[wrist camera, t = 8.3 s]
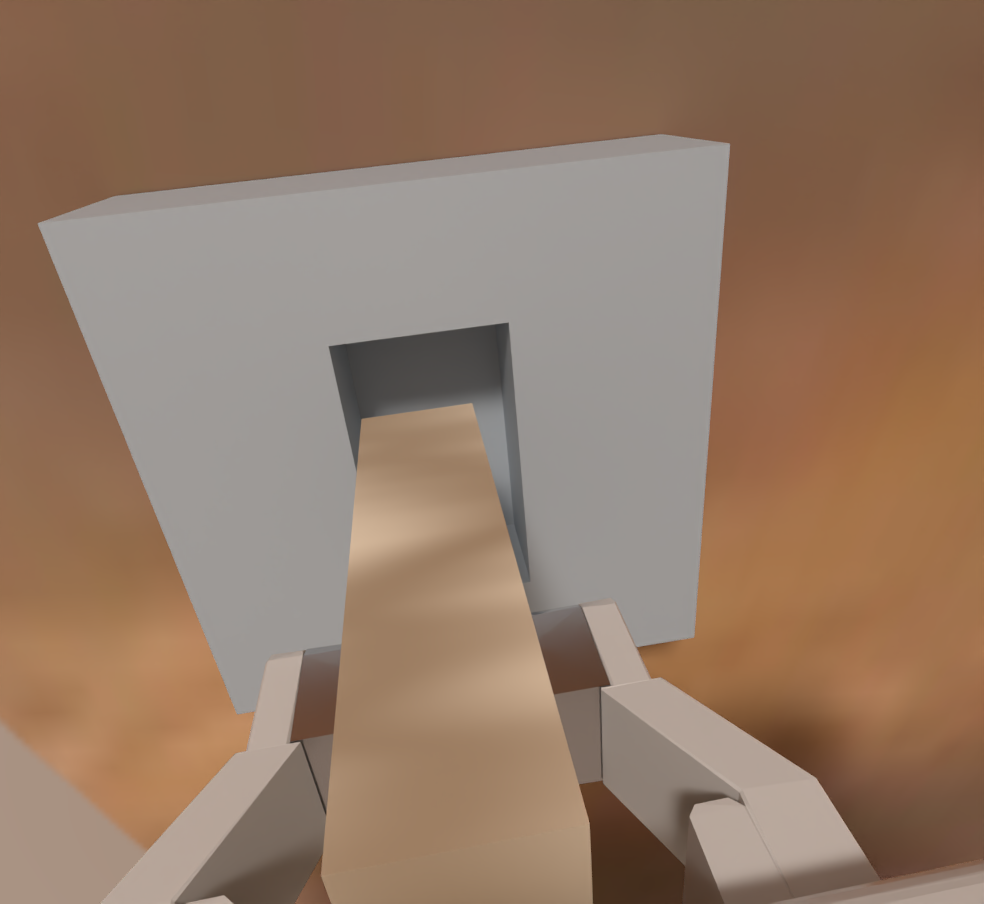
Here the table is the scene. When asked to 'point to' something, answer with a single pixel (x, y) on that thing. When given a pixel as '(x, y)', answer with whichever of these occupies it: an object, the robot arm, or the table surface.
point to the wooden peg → (444, 692)
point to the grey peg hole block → (414, 369)
